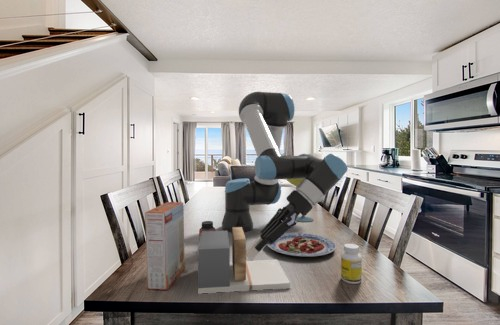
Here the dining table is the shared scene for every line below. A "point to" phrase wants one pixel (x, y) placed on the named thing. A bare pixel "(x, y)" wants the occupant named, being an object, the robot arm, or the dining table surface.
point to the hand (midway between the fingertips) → (248, 256)
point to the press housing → (221, 269)
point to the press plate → (239, 253)
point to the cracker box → (164, 244)
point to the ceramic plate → (303, 245)
